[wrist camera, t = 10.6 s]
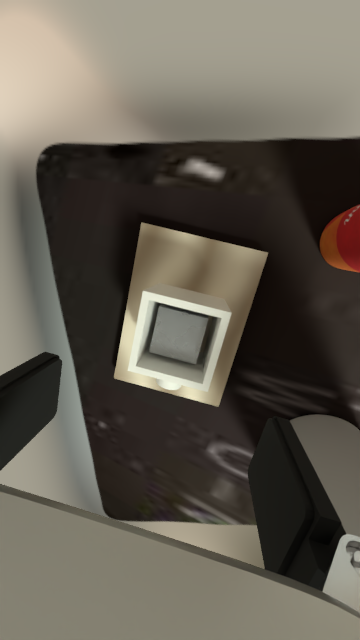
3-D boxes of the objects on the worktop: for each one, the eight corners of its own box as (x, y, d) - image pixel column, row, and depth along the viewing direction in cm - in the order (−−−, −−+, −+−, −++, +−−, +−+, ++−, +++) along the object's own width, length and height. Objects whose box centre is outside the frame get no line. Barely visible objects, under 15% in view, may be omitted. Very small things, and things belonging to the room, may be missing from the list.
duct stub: (207, 307, 25) (208, 318, 20) (197, 345, 26) (195, 364, 21) (168, 297, 25) (159, 306, 20) (159, 335, 26) (149, 352, 21)
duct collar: (224, 298, 24) (231, 312, 17) (200, 381, 27) (198, 421, 20) (160, 282, 25) (142, 290, 18) (142, 366, 27) (121, 400, 20)
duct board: (264, 253, 24) (268, 252, 23) (217, 399, 29) (218, 406, 27) (145, 224, 25) (141, 222, 23) (118, 372, 29) (113, 378, 28)
